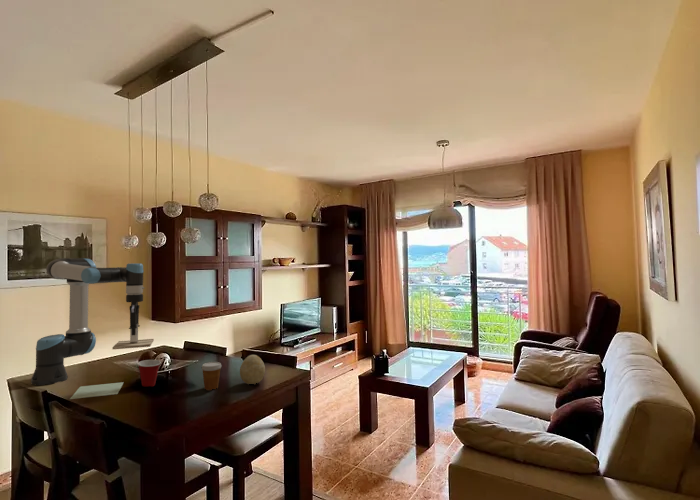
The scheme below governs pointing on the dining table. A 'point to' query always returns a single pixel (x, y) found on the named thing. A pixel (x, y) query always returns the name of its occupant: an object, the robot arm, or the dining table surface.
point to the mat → (97, 390)
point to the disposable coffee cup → (211, 374)
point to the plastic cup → (148, 372)
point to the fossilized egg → (252, 370)
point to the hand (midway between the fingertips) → (134, 340)
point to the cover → (133, 343)
